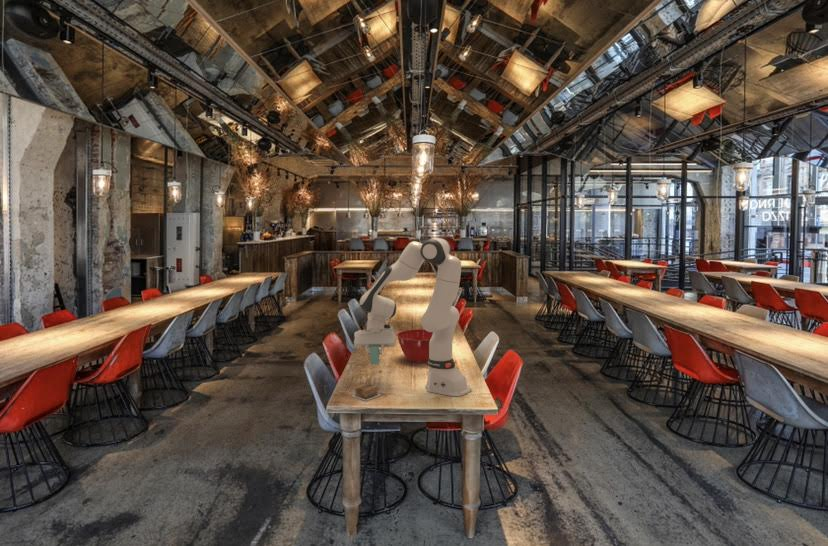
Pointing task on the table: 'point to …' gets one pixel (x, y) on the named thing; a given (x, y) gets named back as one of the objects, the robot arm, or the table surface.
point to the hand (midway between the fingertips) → (374, 354)
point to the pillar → (374, 354)
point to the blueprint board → (366, 399)
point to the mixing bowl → (415, 344)
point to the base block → (366, 391)
